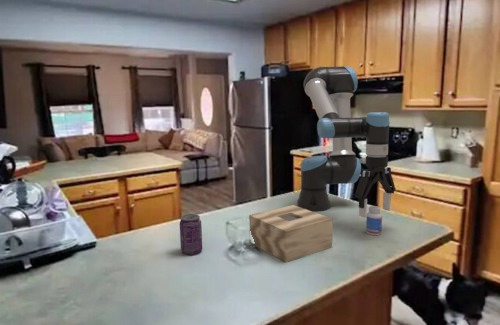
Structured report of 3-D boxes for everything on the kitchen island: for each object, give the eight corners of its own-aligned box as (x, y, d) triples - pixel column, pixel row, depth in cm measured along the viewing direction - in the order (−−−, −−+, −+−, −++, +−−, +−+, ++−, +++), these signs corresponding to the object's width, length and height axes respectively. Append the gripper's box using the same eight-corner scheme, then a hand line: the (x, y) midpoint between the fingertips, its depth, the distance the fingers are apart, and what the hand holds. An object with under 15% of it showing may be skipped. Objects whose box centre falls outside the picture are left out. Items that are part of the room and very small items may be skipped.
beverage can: (194, 245, 125) (192, 212, 123) (206, 251, 120) (205, 216, 118) (176, 251, 120) (174, 217, 118) (189, 257, 115) (187, 222, 113)
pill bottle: (382, 235, 131) (383, 210, 129) (366, 235, 132) (367, 209, 130) (380, 230, 136) (381, 205, 134) (365, 229, 137) (366, 205, 135)
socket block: (249, 242, 127) (249, 214, 126) (293, 230, 138) (293, 204, 136) (286, 262, 111) (286, 231, 109) (331, 246, 122) (332, 218, 120)
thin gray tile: (278, 222, 124) (278, 219, 124) (291, 219, 127) (291, 215, 127) (289, 226, 119) (289, 223, 119) (302, 223, 122) (302, 220, 122)
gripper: (362, 160, 119) (360, 222, 122) (406, 153, 133) (404, 209, 136) (344, 157, 125) (343, 216, 128) (389, 151, 139) (387, 205, 142)
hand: (374, 213), depth 132 cm, fingers open, 13 cm apart
